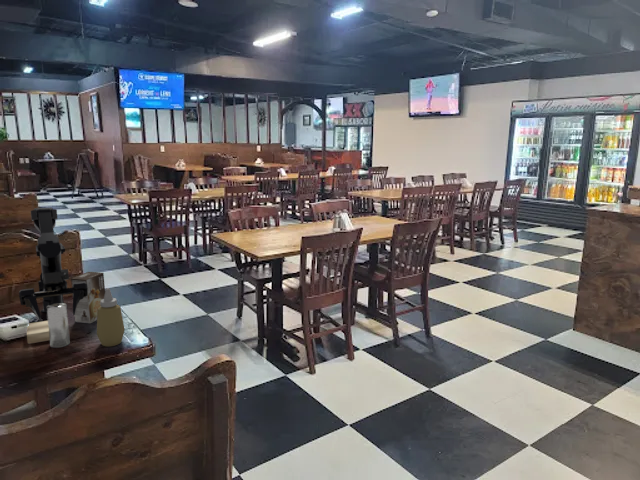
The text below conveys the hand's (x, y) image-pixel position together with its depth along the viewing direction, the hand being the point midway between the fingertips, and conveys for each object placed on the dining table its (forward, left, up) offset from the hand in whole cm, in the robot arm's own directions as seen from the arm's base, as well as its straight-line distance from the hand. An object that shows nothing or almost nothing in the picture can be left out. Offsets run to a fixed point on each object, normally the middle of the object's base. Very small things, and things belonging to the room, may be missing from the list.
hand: (57, 317), depth 143 cm
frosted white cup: (+1, +1, -9) cm, 9 cm away
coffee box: (-20, -3, -9) cm, 22 cm away
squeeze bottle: (-3, +16, -9) cm, 18 cm away
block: (-4, -8, -9) cm, 13 cm away
